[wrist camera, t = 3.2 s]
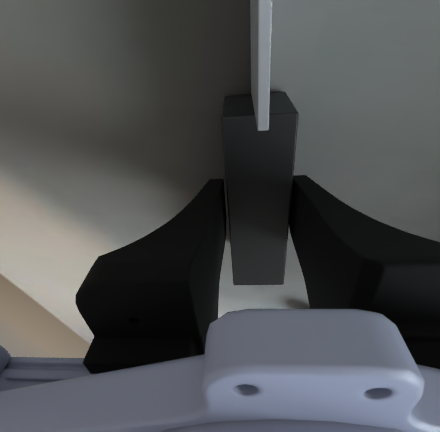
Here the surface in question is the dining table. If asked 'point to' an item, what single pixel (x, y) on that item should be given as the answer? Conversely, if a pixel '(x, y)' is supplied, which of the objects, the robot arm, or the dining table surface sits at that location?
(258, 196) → the cake knife
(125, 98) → the dining table surface
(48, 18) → the dining table surface
